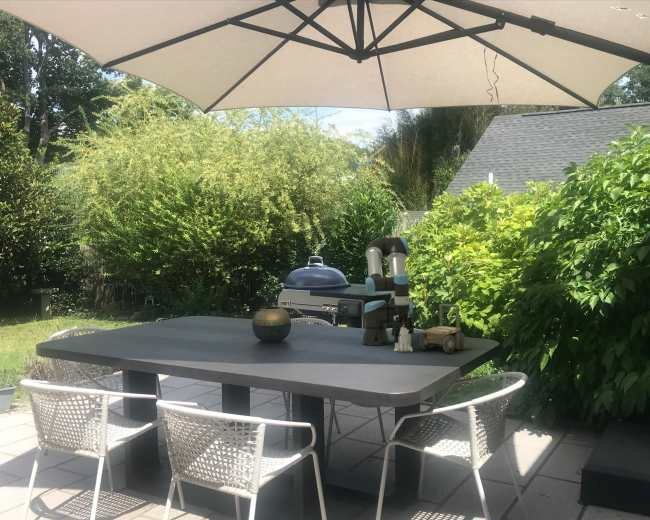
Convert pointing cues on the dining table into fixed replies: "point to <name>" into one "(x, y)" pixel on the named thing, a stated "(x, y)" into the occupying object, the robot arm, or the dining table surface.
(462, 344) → the wooden trolley
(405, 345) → the sitting furry creature
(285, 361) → the dining table surface
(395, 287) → the robot arm
